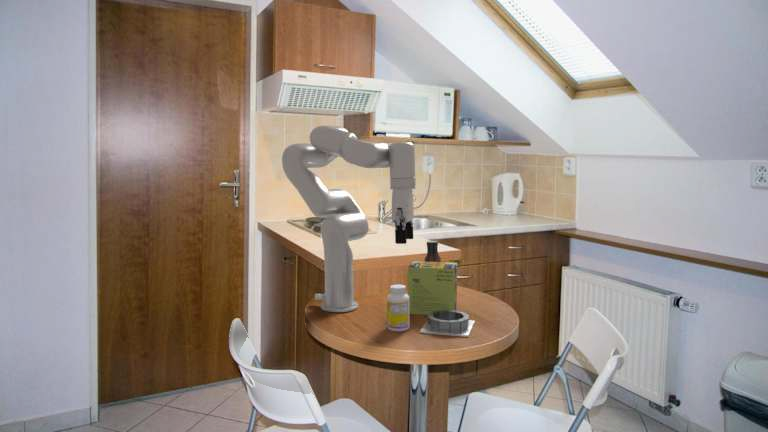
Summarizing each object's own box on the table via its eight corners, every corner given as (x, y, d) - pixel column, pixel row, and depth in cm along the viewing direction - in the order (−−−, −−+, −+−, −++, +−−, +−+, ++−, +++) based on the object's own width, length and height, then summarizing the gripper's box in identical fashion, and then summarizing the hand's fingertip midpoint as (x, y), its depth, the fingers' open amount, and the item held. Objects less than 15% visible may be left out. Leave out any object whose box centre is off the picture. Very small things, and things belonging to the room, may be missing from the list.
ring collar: (419, 332, 158) (419, 320, 158) (430, 318, 171) (430, 307, 171) (468, 337, 154) (468, 324, 153) (474, 322, 167) (475, 311, 167)
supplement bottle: (391, 324, 166) (391, 282, 165) (412, 326, 164) (412, 284, 162) (383, 330, 160) (383, 287, 159) (405, 333, 158) (405, 289, 156)
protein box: (455, 316, 173) (455, 268, 172) (407, 314, 177) (407, 267, 175) (457, 307, 184) (457, 262, 182) (412, 305, 187) (412, 260, 185)
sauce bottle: (440, 292, 204) (441, 239, 201) (443, 296, 197) (443, 242, 195) (423, 292, 203) (423, 240, 201) (425, 297, 197) (425, 242, 195)
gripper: (397, 183, 172) (399, 237, 174) (383, 185, 155) (385, 245, 157) (420, 182, 170) (422, 237, 172) (409, 185, 153) (410, 245, 155)
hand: (404, 241), depth 164 cm, fingers open, 9 cm apart
